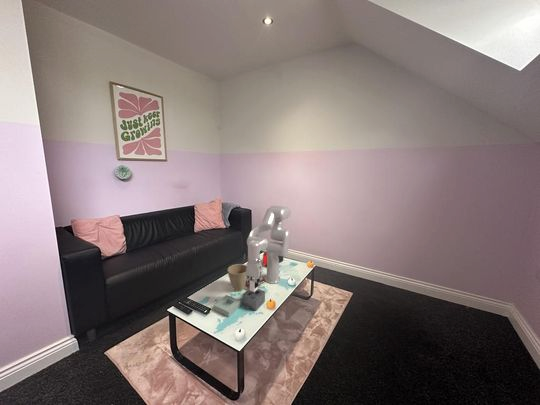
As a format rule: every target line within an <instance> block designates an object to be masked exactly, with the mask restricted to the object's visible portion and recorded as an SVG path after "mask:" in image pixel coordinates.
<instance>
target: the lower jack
mask: <svg viewBox="0 0 540 405" xmlns="http://www.w3.org/2000/svg"><path fill="white" fill-rule="evenodd" d="M241 306H242V300H240V299H237V298H235V297H232V296H231V295H228V294H225V295H224V296H223V297H222V298H221V299H219V301H217V302H216V303H214V304H213V311H215V312H217V313H219V314H222V315H224V316H227V317H228V318H230V317H231V316H232V315H233V314H234V313H235V312H236V311H237V310H238V309H239V308H240V307H241Z"/></svg>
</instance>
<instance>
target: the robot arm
mask: <svg viewBox="0 0 540 405" xmlns="http://www.w3.org/2000/svg"><path fill="white" fill-rule="evenodd" d="M291 212H292V210H291V208H290V207H289V206H284V205H283V206H281V205H272V206H271V205H270V207H269V208H267V209H266V211H265V214H264V216H263V218H262V220H261V223H260V224H258V225H256V226H255V227H253V228H252V229H251V230H250V232H249V235H248V237H247V239H246V245H247V261H246V273H245V275H246V276H247V280H248V281H249V282H248V283H249V285H250V280H252V279H253V278H255V288H257V287H258V288H259V282H260V281H263V280H264V281H265V282H266V283H268V284H272V285H273V284H278V283H280V281H281V277H280V275H279V274H280V273H281V270H280V269H279V268H280V263H279V258H278V255H279V256H283V257H286V256H288V253H289V247H290V241H291V232H290V231H289V230H288V229H284V228H283V225H284V222H283V221H285V220H287V219H289V217H290V216H291ZM268 231H270V233H269V234H270V235H269V236H270V239H271V240H273V241H268V239H267V238H265V237H259V236H257V235H259V234H261V233H264V232H268ZM276 241H277V242H276ZM264 250H265V252H267V267H266V276H265V275H264V276H263V266H262V260H261V251H264ZM263 277H264V278H263Z"/></svg>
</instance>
